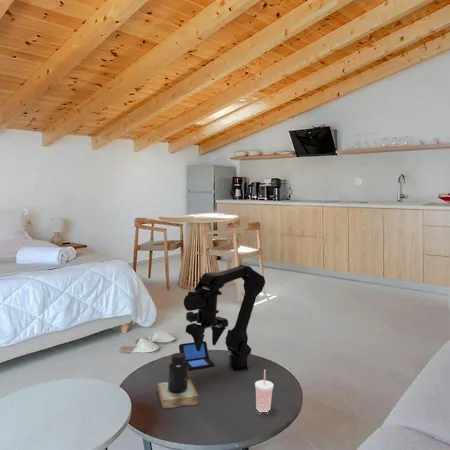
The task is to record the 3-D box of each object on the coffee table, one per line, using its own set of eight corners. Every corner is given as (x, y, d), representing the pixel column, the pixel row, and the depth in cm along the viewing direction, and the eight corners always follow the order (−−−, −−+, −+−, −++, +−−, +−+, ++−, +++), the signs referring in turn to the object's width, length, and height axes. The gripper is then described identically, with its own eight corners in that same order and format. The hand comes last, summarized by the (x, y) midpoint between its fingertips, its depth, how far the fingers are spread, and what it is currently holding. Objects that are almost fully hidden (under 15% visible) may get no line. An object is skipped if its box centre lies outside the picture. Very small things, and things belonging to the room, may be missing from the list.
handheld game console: (186, 372, 164) (186, 353, 163) (177, 361, 173) (178, 344, 173) (215, 367, 169) (215, 349, 168) (205, 357, 179) (206, 340, 178)
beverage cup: (258, 403, 141) (260, 364, 140) (275, 408, 138) (277, 368, 137) (250, 411, 136) (252, 370, 135) (267, 417, 133) (269, 375, 132)
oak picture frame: (190, 387, 151) (190, 379, 151) (198, 404, 140) (198, 395, 139) (157, 391, 147) (157, 382, 147) (162, 408, 136) (163, 399, 136)
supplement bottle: (189, 392, 141) (190, 358, 140) (169, 394, 139) (170, 360, 138) (185, 383, 147) (186, 350, 146) (166, 385, 145) (167, 352, 144)
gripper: (208, 299, 167) (205, 337, 167) (176, 306, 152) (173, 348, 153) (230, 305, 160) (227, 344, 161) (198, 313, 145) (195, 356, 146)
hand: (206, 348), depth 155 cm, fingers open, 9 cm apart
